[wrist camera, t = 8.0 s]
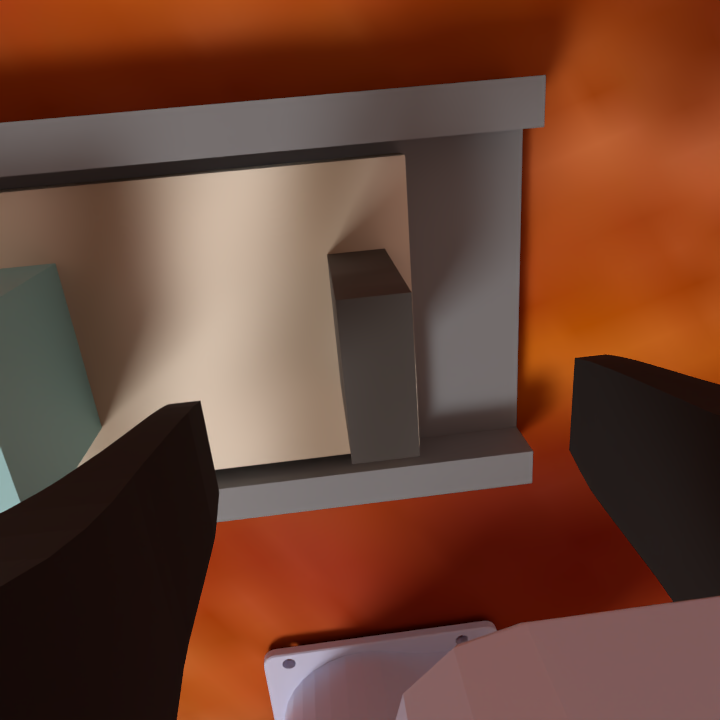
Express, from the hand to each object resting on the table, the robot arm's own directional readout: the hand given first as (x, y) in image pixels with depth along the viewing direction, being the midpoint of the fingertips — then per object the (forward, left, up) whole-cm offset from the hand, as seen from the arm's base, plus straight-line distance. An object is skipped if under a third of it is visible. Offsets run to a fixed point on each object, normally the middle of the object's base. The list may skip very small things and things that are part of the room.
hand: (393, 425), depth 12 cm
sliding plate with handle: (+7, 0, -7) cm, 10 cm away
